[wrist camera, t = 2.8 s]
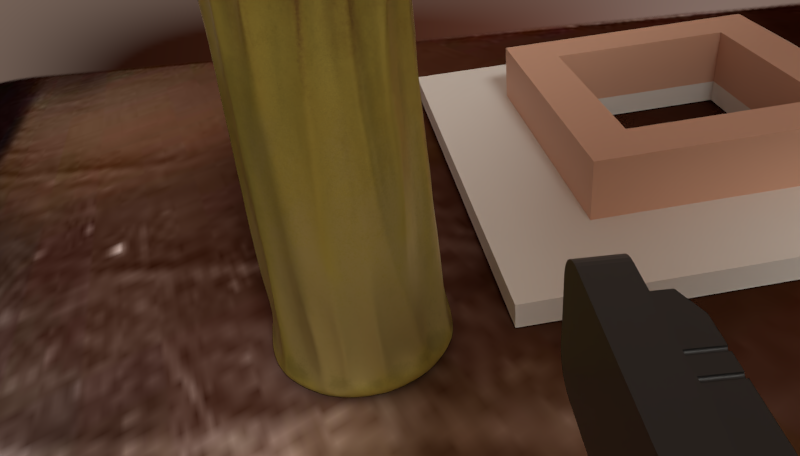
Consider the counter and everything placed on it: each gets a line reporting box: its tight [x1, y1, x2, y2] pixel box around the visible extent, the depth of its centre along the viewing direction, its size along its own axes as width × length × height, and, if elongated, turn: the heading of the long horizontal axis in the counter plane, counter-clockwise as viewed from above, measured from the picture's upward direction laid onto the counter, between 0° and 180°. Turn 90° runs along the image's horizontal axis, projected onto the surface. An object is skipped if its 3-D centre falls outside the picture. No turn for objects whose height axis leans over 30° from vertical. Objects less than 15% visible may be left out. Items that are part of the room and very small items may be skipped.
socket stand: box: [419, 14, 800, 328], centre depth 32 cm, size 20×20×4 cm
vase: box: [198, 0, 453, 398], centre depth 21 cm, size 6×6×14 cm
